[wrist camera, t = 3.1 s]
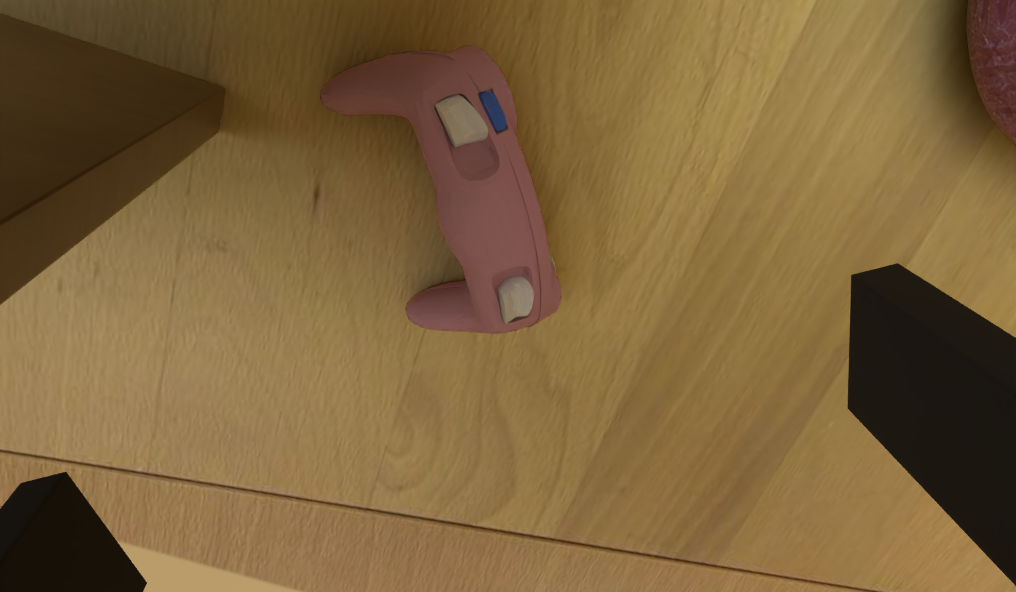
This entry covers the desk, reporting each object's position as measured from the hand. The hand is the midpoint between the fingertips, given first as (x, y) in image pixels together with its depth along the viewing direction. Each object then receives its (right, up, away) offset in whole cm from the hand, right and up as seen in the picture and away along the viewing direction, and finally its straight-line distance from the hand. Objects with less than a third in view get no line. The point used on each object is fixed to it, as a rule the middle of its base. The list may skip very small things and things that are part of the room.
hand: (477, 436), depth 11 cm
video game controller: (-2, +7, +13) cm, 15 cm away
